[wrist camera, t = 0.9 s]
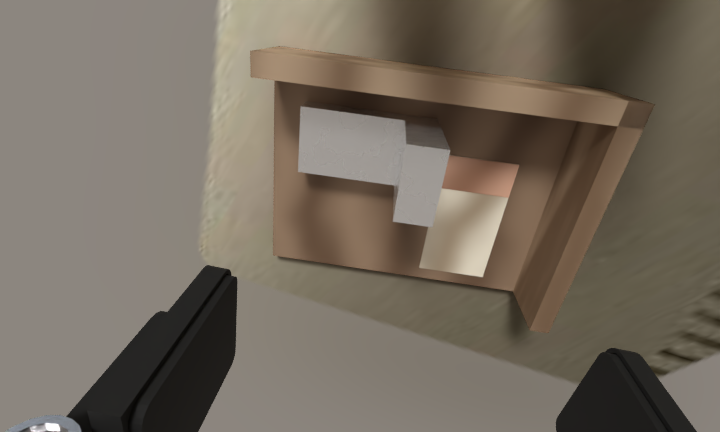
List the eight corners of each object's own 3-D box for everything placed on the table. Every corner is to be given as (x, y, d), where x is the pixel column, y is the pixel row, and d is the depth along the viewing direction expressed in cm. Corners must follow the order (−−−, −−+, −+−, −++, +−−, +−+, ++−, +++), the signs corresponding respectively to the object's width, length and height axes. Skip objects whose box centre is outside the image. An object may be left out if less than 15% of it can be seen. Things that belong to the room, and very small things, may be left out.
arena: (604, 89, 27) (655, 104, 22) (525, 286, 35) (548, 333, 30) (278, 46, 28) (250, 50, 22) (276, 249, 36) (254, 288, 31)
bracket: (437, 119, 28) (450, 150, 21) (424, 180, 30) (432, 227, 23) (306, 101, 28) (275, 125, 21) (303, 163, 31) (275, 204, 24)
